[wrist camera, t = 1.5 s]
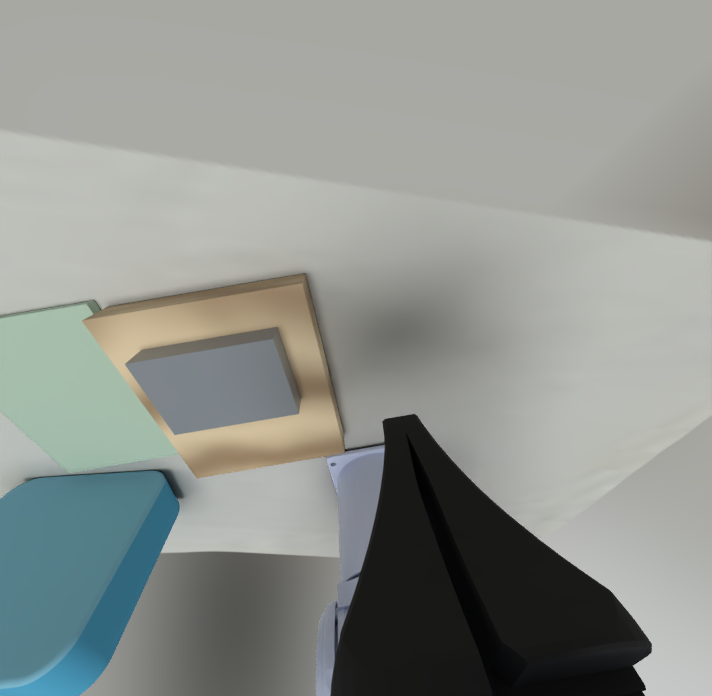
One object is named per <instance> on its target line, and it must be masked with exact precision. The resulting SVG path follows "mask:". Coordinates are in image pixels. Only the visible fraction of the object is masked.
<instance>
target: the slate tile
mask: <svg viewBox="0 0 712 696" xmlns="http://www.w3.org/2000/svg"><path fill="white" fill-rule="evenodd" d="M125 366H126V367H127V368H128V370H129V371H130V373H131V374H132V375H133V377H134V378H135V380H136V381H137V382H138V384H139V385H140V387H141V388H142V390H143V391H144V392H145V394H146V395H147V397H148V398H149V399H150V401H151V402H152V404H153V405H154V407H155V408H156V409H157V411H158V412H159V414H160V415H161V416H162V418H163V419H164V421H165V422H166V424H167V425H168V426H169V428H170V429H171V431H172V432H173V433H174V435H178V434H184V433H190V432H196V431H202V430H208V429H214V428H220V427H225V426H231V425H237V424H243V423H249V422H255V421H261V420H267V419H272V418H278V417H284V416H290V415H296V414H299V411H300V403H301V396H300V393H299V390H298V387H297V384H296V381H295V378H294V375H293V372H292V369H291V366H290V363H289V360H288V357H287V354H286V350H285V347H284V344H283V341H282V338H281V335H280V332H279V329H278V327H273V328H267V329H261V330H255V331H250V332H244V333H238V334H232V335H226V336H220V337H214V338H208V339H202V340H196V341H191V342H185V343H179V344H173V345H167V346H161V347H155V348H149V349H143V350H141V351H139V352H138V353H137V354H136V355H135V356H134V357H132V358H131V359H130V360H129V361H128V362H127V363H125Z"/></svg>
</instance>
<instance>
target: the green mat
mask: <svg viewBox="0 0 712 696" xmlns="http://www.w3.org/2000/svg"><path fill="white" fill-rule="evenodd" d="M99 311H101V310H100V308H99V307H98V305H97V304H96V302H95V301H94V300H93V301H87V302H82V303H76V304H70V305H64V306H58V307H52V308H46V309H40V310H34V311H28V312H22V313H16V314H11V315H5V316H0V412H1V413H2V414H4V415H5V416H6V417H7V418H8V419H9V420H10V421H11V422H12V423H14V424H15V425H16V426H17V427H18V428H19V429H20V430H21V431H22V432H24V433H25V434H26V435H27V436H28V437H29V438H30V439H31V440H32V441H34V442H35V443H36V444H37V445H38V446H39V447H40V448H41V449H42V450H44V451H45V452H46V453H47V454H48V455H49V456H50V457H51V458H52V459H54V460H55V461H56V462H57V463H58V464H59V465H60V466H61V467H62V468H64V469H65V470H66V471H67V472H68V473H73V472H78V471H84V470H90V469H96V468H102V467H108V466H114V465H120V464H125V463H131V462H137V461H143V460H149V459H155V458H161V457H166V456H172V455H178V454H179V453H178V452H177V450H176V449H175V448H174V446H173V445H172V444H171V442H170V441H169V439H168V438H167V437H166V435H165V434H164V433H163V431H162V430H161V428H160V427H159V426H158V424H157V423H156V422H155V420H154V419H153V418H152V416H151V415H150V413H149V412H148V411H147V409H146V408H145V407H144V405H143V404H142V403H141V401H140V400H139V398H138V397H137V396H136V394H135V393H134V392H133V390H132V389H131V387H130V386H129V385H128V383H127V382H126V381H125V379H124V378H123V377H122V375H121V374H120V372H119V371H118V370H117V368H116V367H115V366H114V364H113V363H112V361H111V360H110V359H109V357H108V356H107V355H106V353H105V352H104V351H103V349H102V348H101V346H100V345H99V344H98V342H97V341H96V340H95V338H94V337H93V336H92V334H91V333H90V331H89V330H88V329H87V327H86V326H85V325H84V323H83V322H82V320H84V319H86V318H88V317H89V316H91V315H93V314H95V313H97V312H99Z"/></svg>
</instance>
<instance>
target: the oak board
mask: <svg viewBox="0 0 712 696" xmlns="http://www.w3.org/2000/svg"><path fill="white" fill-rule="evenodd" d="M82 322H83V323H84V325H85V326H86V327H87V329H88V330H89V331H90V333H91V334H92V336H93V337H94V338H95V340H96V341H97V342H98V344H99V345H100V346H101V348H102V349H103V351H104V352H105V353H106V355H107V356H108V357H109V359H110V360H111V361H112V363H113V364H114V366H115V367H116V368H117V370H118V371H119V372H120V374H121V375H122V377H123V378H124V379H125V381H126V382H127V383H128V385H129V386H130V387H131V389H132V390H133V392H134V393H135V394H136V396H137V397H138V398H139V400H140V401H141V403H142V404H143V405H144V407H145V408H146V409H147V411H148V412H149V413H150V415H151V416H152V418H153V419H154V420H155V422H156V423H157V424H158V426H159V427H160V428H161V430H162V431H163V433H164V434H165V435H166V437H167V438H168V439H169V441H170V442H171V444H172V445H173V446H174V448H175V449H176V450H177V452H178V453H179V454H180V456H181V457H182V459H183V460H184V461H185V463H186V464H187V465H188V467H189V468H190V469H191V471H192V472H193V474H194V475H195V476H196V478H202V477H208V476H213V475H219V474H225V473H231V472H237V471H243V470H249V469H254V468H260V467H266V466H272V465H278V464H284V463H290V462H295V461H301V460H307V459H313V458H319V457H325V456H331V455H337V454H342V453H345V445H344V432H343V428H342V424H341V420H340V416H339V412H338V408H337V403H336V399H335V395H334V391H333V387H332V383H331V379H330V374H329V370H328V366H327V362H326V358H325V354H324V350H323V345H322V341H321V337H320V333H319V329H318V325H317V321H316V316H315V312H314V308H313V304H312V300H311V296H310V292H309V287H308V283H307V279H306V275H305V273H304V274H299V275H293V276H287V277H281V278H275V279H269V280H263V281H257V282H251V283H245V284H239V285H234V286H228V287H222V288H216V289H210V290H204V291H198V292H192V293H186V294H180V295H174V296H169V297H163V298H157V299H151V300H145V301H139V302H133V303H127V304H121V305H115V306H109V307H106V308H104V309H103V310H101V311H99V312H97V313H95V314H93V315H91V316H89V317H88V318H86V319H84V320H82ZM273 327H278V329H279V332H280V335H281V338H282V341H283V344H284V347H285V350H286V354H287V357H288V360H289V363H290V366H291V369H292V372H293V375H294V378H295V381H296V384H297V387H298V390H299V393H300V396H301V403H300V411H299V414H296V415H290V416H284V417H278V418H272V419H267V420H261V421H255V422H249V423H243V424H237V425H231V426H225V427H220V428H214V429H208V430H202V431H196V432H190V433H184V434H178V435H174V433H173V432H172V431H171V429H170V428H169V426H168V425H167V424H166V422H165V421H164V419H163V418H162V416H161V415H160V414H159V412H158V411H157V409H156V408H155V407H154V405H153V404H152V402H151V401H150V399H149V398H148V397H147V395H146V394H145V392H144V391H143V390H142V388H141V387H140V385H139V384H138V382H137V381H136V380H135V378H134V377H133V375H132V374H131V373H130V371H129V370H128V368H127V367H126V366H125V363H127V362H128V361H129V360H130V359H131V358H132V357H134V356H135V355H136V354H137V353H138V352H139V351H141V350H143V349H149V348H155V347H161V346H167V345H173V344H179V343H185V342H191V341H196V340H202V339H208V338H214V337H220V336H226V335H232V334H238V333H244V332H250V331H255V330H261V329H267V328H273Z"/></svg>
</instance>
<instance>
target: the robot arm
mask: <svg viewBox="0 0 712 696" xmlns="http://www.w3.org/2000/svg"><path fill="white" fill-rule="evenodd" d="M383 429H384V437H385V445H381V446H375V447H369V448H363V449H358V450H352V451H346V452H345V453H342V454H337V455H331V456H327V464H328V467H329V471H330V474H331V477H332V480H333V483H334V487H335V490H336V493H337V496H338V514H339V546H340V579H341V582H340V583H338V603H337V601H332V602H329V603H328V604H327V607H326V609H325V610H324V612H323V614H322V615H321V617H320V622H319V629H318V640H317V661H316V662H317V663H316V696H645V695H644V694H643V692H642V691H644V690H646V688H645V685H644V683H643V682H642V680H641V678H640V677H639V675H638V674H637V672H636V670H635V669H634V667H633V665H634V664H636V663H638V662H639V661H641V660H642V659H644V658H645V657H647V656H648V655H649V654H650V653H651V650H652V648H651V647H652V644H651V642H650V641H649V639H648V638H647V637H646V635H645V634H644V632H643V631H642V630H641V628H640V627H639V625H638V624H637V623H636V621H635V620H634V619H633V618H632V616H631V615H630V614H629V613H628V611H627V610H626V609H625V608H624V607H623V605H622V604H621V603H620V602H619V601H618V599H617V598H616V597H615V596H614V594H613V593H612V592H611V591H610V590H609V589H607V588H606V587H604V586H603V585H601V584H600V583H598V582H597V581H596V580H594V579H592V578H591V577H590V576H588V575H587V574H585V573H584V572H583V571H581V570H579V569H578V568H577V567H576V566H574V565H573V564H571V563H570V562H568V561H567V560H566V559H564V558H563V557H561V556H560V555H558V553H556V552H555V551H554V550H552V549H551V548H550V547H548V546H547V545H546V544H544V543H543V542H541V541H540V540H539V539H538V538H537V537H535V536H534V535H533V534H532V533H530V532H529V531H528V530H527V529H525V528H524V527H523V526H522V525H520V524H519V523H518V522H517V521H515V520H514V519H513V518H512V517H511V516H509V515H508V514H507V513H506V512H505V511H504V510H502V509H501V508H500V507H499V506H498V505H497V504H496V503H494V502H493V501H492V500H491V499H490V498H489V497H488V496H487V495H486V494H485V493H484V492H482V491H481V490H480V489H479V488H478V487H477V486H476V485H475V484H474V483H473V482H472V481H471V480H470V479H469V478H468V477H467V476H466V475H465V474H464V473H463V472H462V471H461V470H460V469H459V467H458V466H457V465H456V464H455V463H454V462H453V461H452V460H451V459H450V458H449V456H448V455H447V454H446V453H445V452H444V451H443V449H442V448H441V447H440V446H439V445H438V443H437V442H436V441H435V440H434V439H433V437H432V436H431V435H430V433H429V432H428V431H427V429H426V428H425V427H424V425H423V424H422V422H421V421H420V419H419V418H418V416H417V415H415V414H412V415H406V416H400V417H394V418H388V419H385V420H384V421H383Z"/></svg>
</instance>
